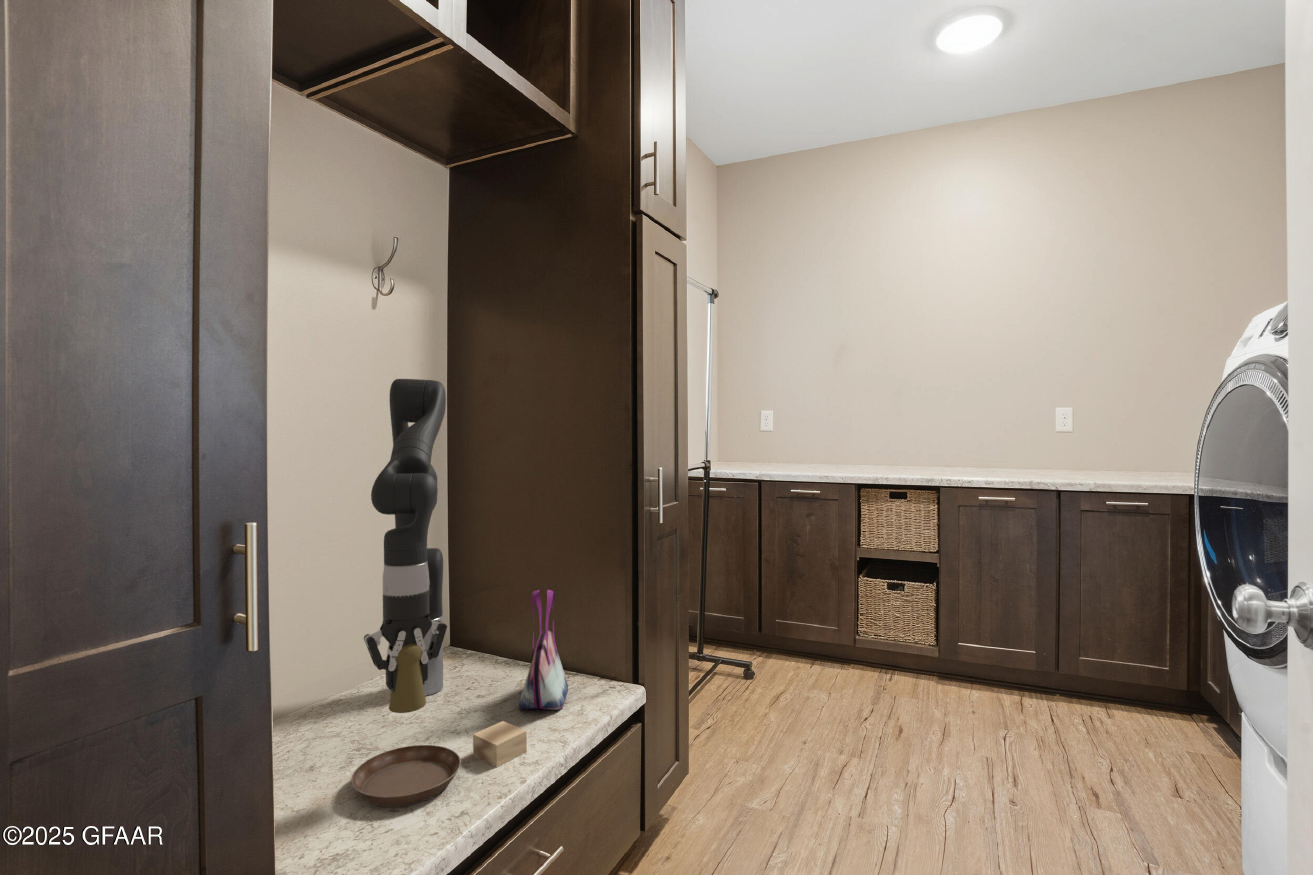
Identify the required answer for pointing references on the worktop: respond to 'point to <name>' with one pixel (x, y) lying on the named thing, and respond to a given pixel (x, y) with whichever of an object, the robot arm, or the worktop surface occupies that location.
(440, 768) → the plant saucer
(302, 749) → the worktop surface
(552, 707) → the handbag
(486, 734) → the oak base block
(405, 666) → the olive green pawn
